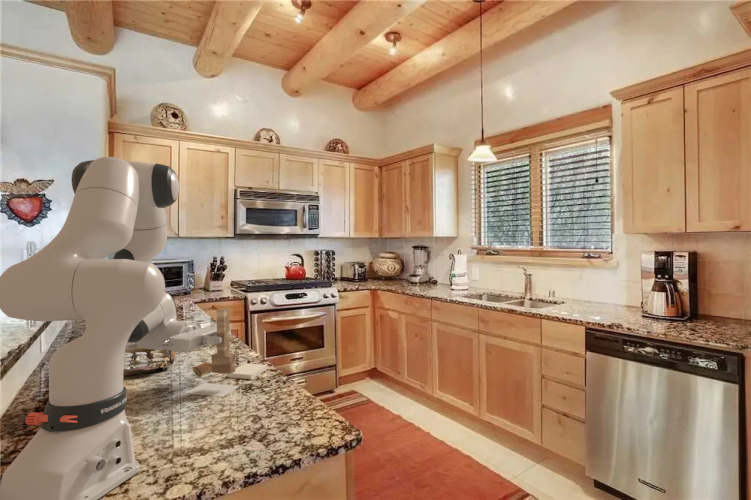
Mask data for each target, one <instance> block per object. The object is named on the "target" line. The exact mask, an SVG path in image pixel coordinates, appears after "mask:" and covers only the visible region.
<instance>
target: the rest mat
mask: <svg viewBox="0 0 751 500" xmlns="http://www.w3.org/2000/svg"><path fill="white" fill-rule="evenodd" d="M239 387H240V385H230V384H219V383H211V382H210V383H209V382H203V383H201V384H199V385H197V386H195V387H193V388H192V389H189V390H187V391H186V392H184V393H185V394H190V395H191V394H192V395H199V396H200V395H201V396H210V397H211V396H212V397H225V396H226V395H228V394H229V393H231V392H233V391H235V390H237V389H238V388H239Z"/></svg>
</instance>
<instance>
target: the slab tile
mask: <svg viewBox="0 0 751 500" xmlns="http://www.w3.org/2000/svg"><path fill="white" fill-rule="evenodd" d="M267 370H268V365H267V364H259V363H258V364H257V363H244V364H242V365H240V366H238V367H235V372H233V373H231V374H227V378H232V379H243V380H252V379H254V378H255V377H258V376H259V375H261V374H262V373H263V372H265V371H267Z"/></svg>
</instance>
